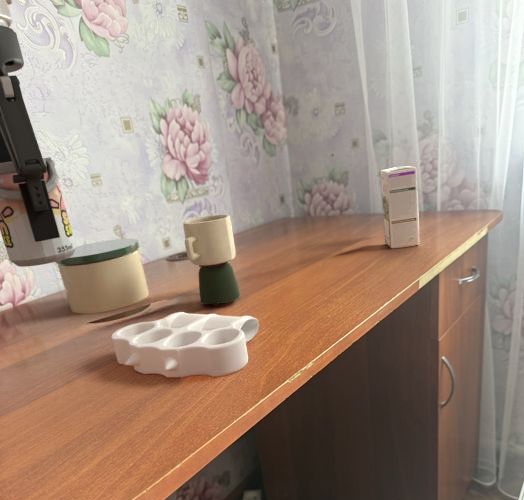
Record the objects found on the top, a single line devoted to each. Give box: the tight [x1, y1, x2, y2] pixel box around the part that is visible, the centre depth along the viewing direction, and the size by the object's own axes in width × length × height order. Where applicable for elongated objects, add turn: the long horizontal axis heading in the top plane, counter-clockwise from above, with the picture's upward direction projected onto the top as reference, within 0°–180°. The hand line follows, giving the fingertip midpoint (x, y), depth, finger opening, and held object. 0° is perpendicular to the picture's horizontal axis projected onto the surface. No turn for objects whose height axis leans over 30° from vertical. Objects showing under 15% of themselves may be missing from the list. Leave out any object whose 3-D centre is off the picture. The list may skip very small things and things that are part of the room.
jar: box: [55, 238, 151, 324], centre depth 81 cm, size 13×13×10 cm
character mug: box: [182, 214, 241, 306], centre depth 76 cm, size 11×7×13 cm, turn 148°
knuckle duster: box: [110, 311, 260, 379], centre depth 59 cm, size 3×18×15 cm
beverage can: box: [0, 157, 77, 268], centre depth 62 cm, size 9×8×12 cm
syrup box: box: [380, 165, 420, 249], centre depth 96 cm, size 6×6×14 cm
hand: (38, 236), depth 63 cm, fingers closed on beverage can, 9 cm apart
